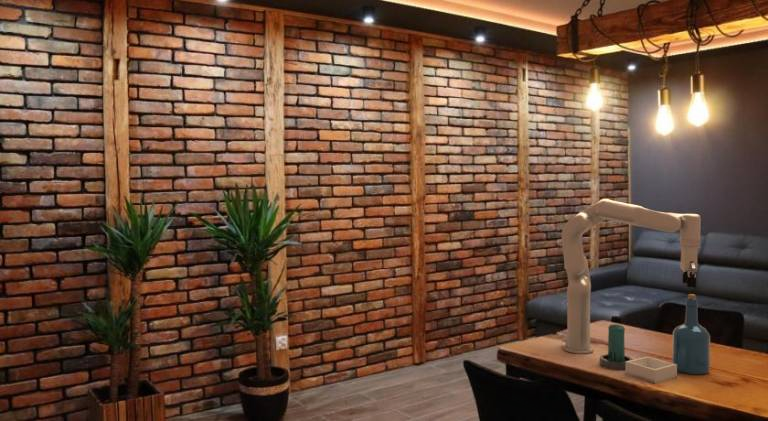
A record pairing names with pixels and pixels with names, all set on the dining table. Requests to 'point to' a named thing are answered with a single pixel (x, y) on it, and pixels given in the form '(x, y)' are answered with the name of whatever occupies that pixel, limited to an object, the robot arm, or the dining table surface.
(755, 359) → the dining table surface
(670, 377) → the bin
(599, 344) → the dining table surface
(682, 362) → the wine bottle
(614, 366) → the holder ring
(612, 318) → the beverage bottle
